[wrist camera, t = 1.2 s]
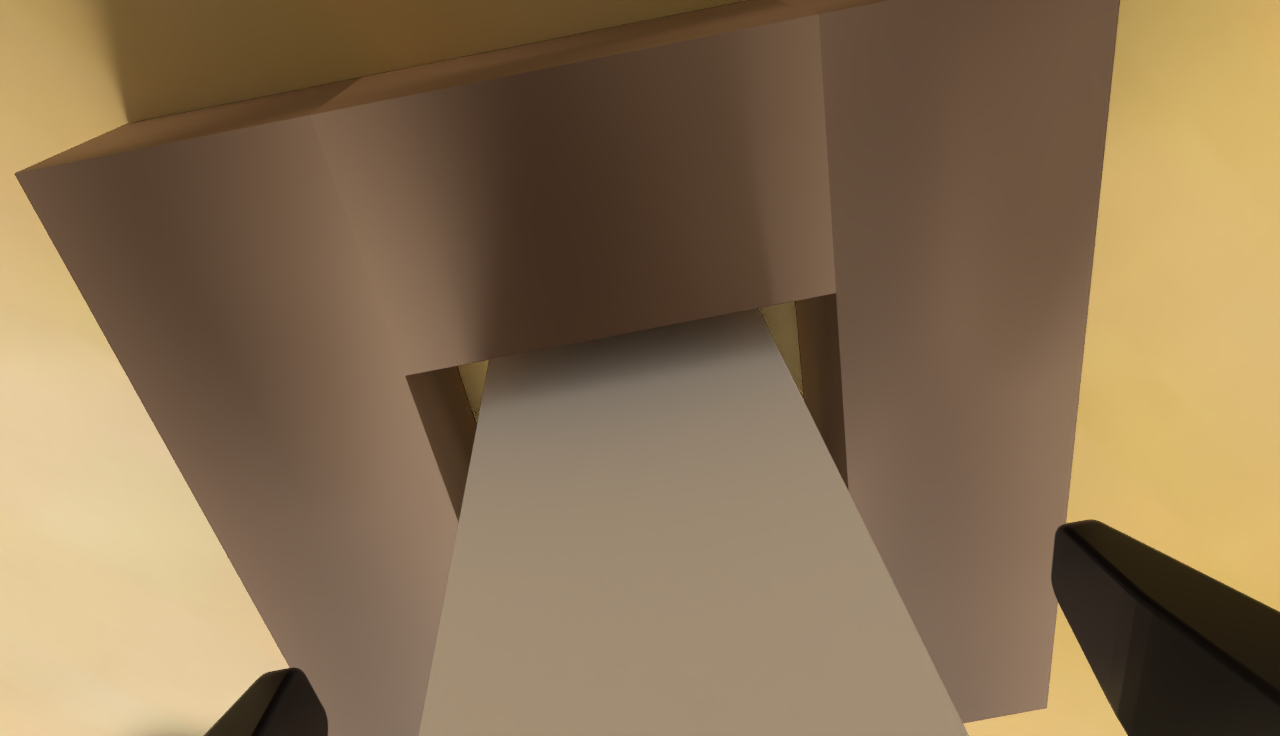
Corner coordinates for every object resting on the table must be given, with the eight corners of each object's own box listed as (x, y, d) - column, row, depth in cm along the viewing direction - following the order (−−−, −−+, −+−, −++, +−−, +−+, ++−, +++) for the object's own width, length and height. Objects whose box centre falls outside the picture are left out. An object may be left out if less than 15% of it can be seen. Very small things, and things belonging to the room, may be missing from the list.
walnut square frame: (1011, -53, 11) (1124, -47, 9) (983, 604, 16) (1046, 708, 14) (126, 124, 11) (14, 174, 9) (405, 710, 17) (379, 829, 14)
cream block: (745, 281, 13) (1030, 859, 5) (769, 483, 15) (1001, 1132, 7) (495, 329, 13) (373, 975, 5) (551, 524, 15) (530, 1215, 7)
